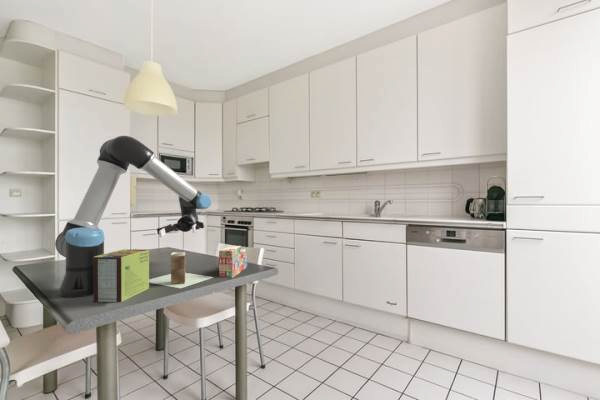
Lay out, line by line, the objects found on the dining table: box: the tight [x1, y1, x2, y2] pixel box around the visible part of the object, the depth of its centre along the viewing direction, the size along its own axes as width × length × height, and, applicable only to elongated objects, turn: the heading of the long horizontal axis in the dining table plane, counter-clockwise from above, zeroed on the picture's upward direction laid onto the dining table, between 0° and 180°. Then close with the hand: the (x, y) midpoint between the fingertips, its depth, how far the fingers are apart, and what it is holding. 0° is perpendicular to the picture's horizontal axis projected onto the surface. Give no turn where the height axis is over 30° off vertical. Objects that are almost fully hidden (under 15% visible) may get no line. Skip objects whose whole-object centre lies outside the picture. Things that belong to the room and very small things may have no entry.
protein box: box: [92, 248, 150, 304], centre depth 105 cm, size 10×15×16 cm
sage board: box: [149, 272, 215, 289], centre depth 125 cm, size 22×18×1 cm
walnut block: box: [170, 251, 186, 285], centre depth 119 cm, size 5×5×12 cm
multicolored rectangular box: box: [218, 245, 248, 279], centre depth 139 cm, size 21×6×12 cm, turn 172°
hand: (176, 231), depth 126 cm, fingers open, 13 cm apart
